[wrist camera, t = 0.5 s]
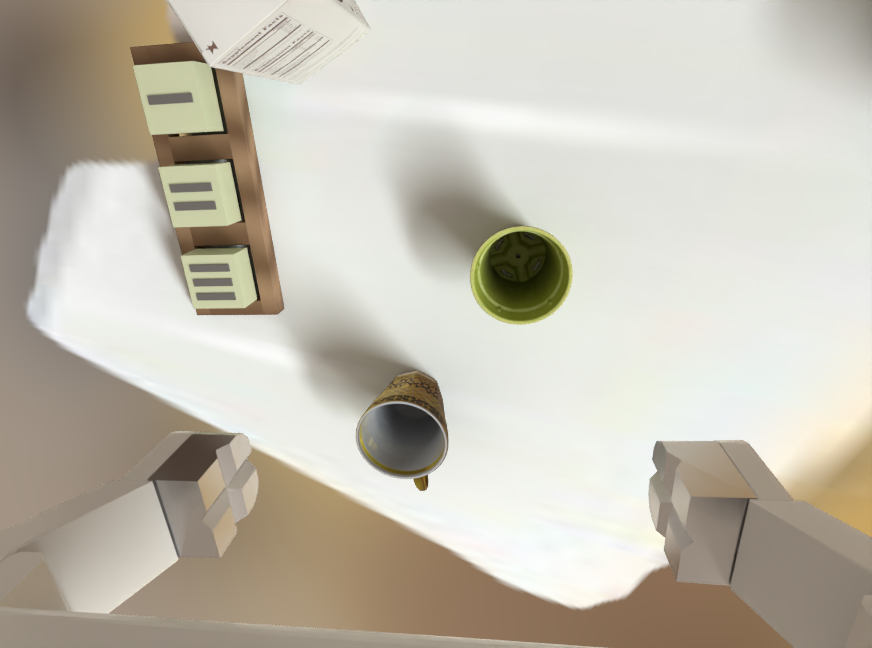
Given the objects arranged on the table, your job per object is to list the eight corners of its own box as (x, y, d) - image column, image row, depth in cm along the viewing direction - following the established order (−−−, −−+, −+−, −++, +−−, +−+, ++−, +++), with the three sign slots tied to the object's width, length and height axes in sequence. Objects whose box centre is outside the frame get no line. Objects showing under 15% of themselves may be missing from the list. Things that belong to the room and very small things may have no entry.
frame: (143, 49, 50) (130, 47, 48) (236, 42, 49) (226, 39, 47) (206, 309, 61) (197, 315, 59) (284, 308, 59) (277, 314, 57)
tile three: (196, 248, 55) (179, 256, 52) (246, 247, 55) (233, 254, 52) (208, 299, 58) (193, 309, 55) (257, 298, 57) (244, 308, 54)
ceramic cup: (365, 367, 61) (342, 410, 52) (442, 350, 59) (432, 392, 50) (397, 452, 66) (381, 506, 56) (470, 439, 64) (466, 493, 54)
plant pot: (459, 271, 55) (452, 297, 47) (499, 194, 52) (500, 208, 44) (532, 309, 56) (538, 340, 48) (578, 235, 52) (593, 256, 44)
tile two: (176, 164, 52) (157, 167, 49) (229, 162, 51) (213, 164, 48) (189, 222, 54) (172, 227, 51) (241, 220, 53) (226, 226, 51)
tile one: (153, 68, 49) (131, 65, 46) (210, 64, 48) (192, 60, 45) (168, 133, 51) (149, 134, 48) (223, 130, 50) (207, 131, 47)
